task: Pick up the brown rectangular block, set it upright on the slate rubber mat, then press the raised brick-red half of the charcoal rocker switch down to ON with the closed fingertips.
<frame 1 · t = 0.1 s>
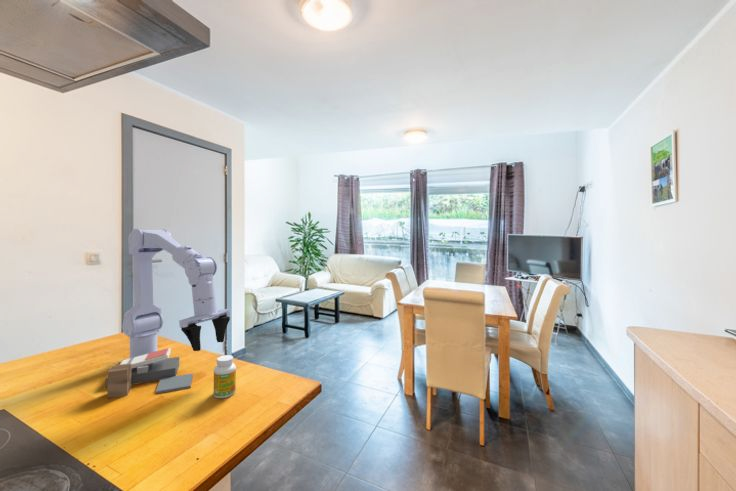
hand: (209, 346, 86), 10 cm above the counter, tool pointing down, fingers open, 7 cm apart
rocker: (145, 359, 89), point 5 cm above the counter, hinge at 10.0°
mat: (175, 383, 85), on the counter
supplement bottle: (224, 394, 81), on the counter
switch housing: (145, 375, 89), on the counter
brown rectangular block: (119, 393, 79), on the counter
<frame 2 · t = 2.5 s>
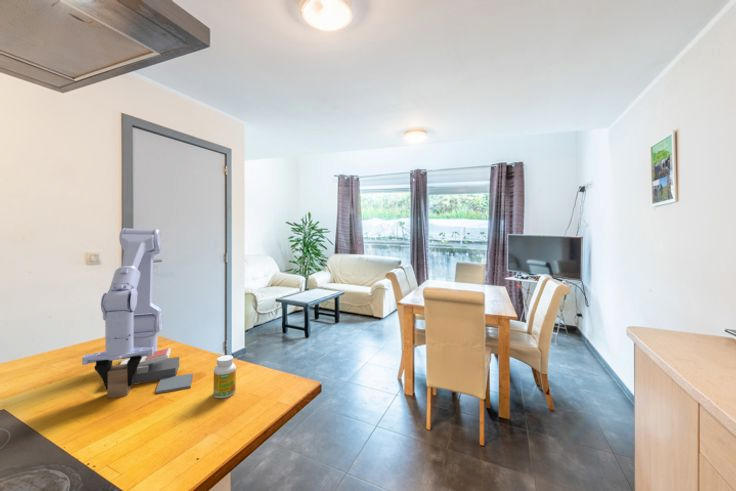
hand: (119, 386, 79), 2 cm above the counter, tool pointing down, fingers closed on brown rectangular block, 4 cm apart
brown rectangular block: (119, 393, 79), on the counter, touching gripper
everything else where it was.
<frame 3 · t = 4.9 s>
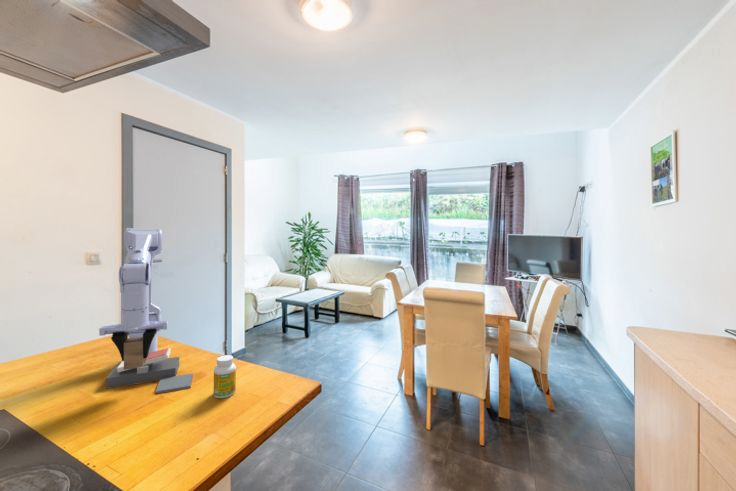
hand: (135, 358, 81), 9 cm above the counter, tool pointing down, fingers closed on brown rectangular block, 4 cm apart
brown rectangular block: (135, 365, 81), point 7 cm above the counter, touching gripper
everything else where it was.
when the fingers open (4 cm above the counter, at t = 7.4 s): brown rectangular block drops 1 cm, resting on mat.
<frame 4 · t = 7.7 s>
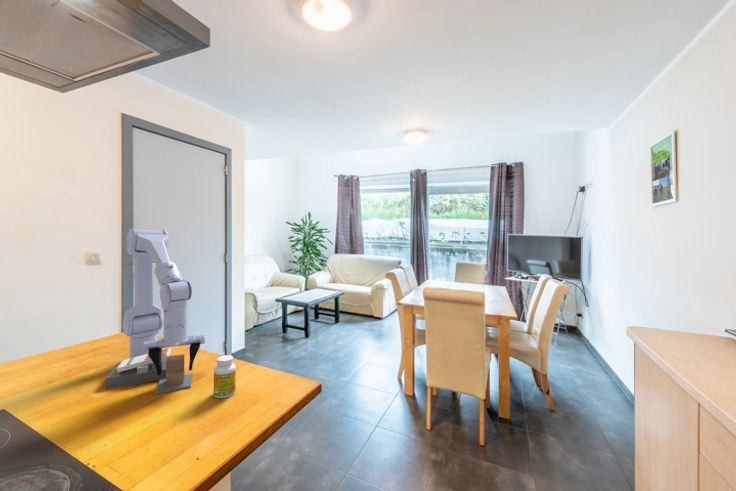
hand: (175, 371, 85), 4 cm above the counter, tool pointing down, fingers open, 7 cm apart
brown rectangular block: (175, 381, 85), point 1 cm above the counter, touching mat
everything else where it was.
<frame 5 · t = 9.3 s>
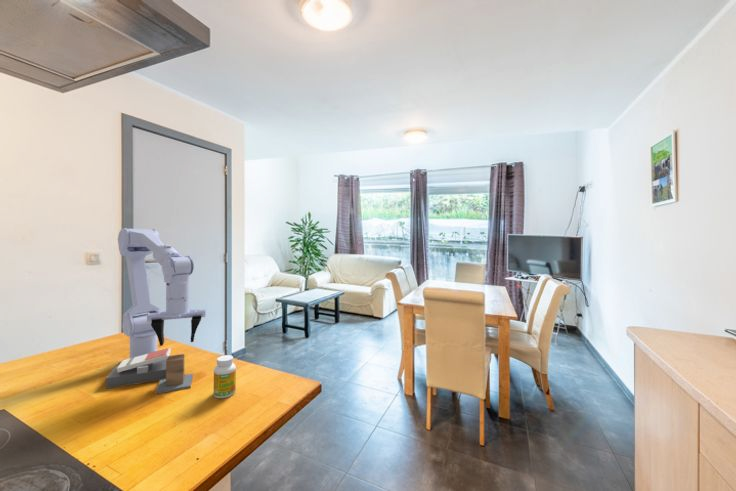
hand: (177, 342, 89), 10 cm above the counter, tool pointing down, fingers open, 7 cm apart
nothing on the counter moved.
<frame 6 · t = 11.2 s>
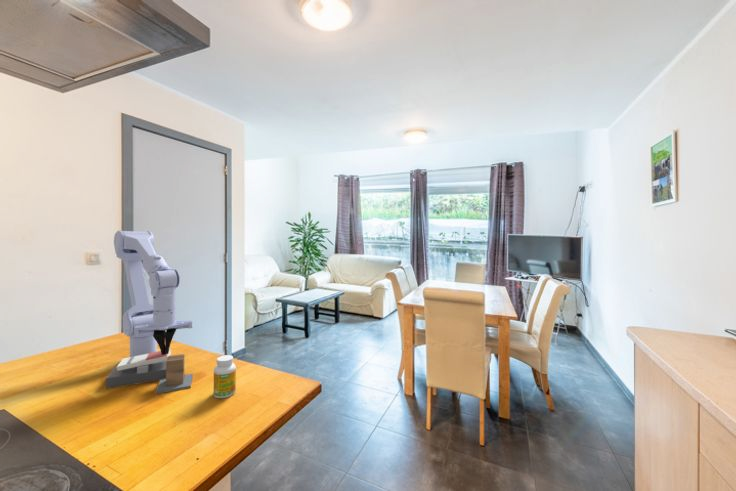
hand: (165, 353, 91), 6 cm above the counter, tool pointing down, fingers closed, pressing on rocker
rocker: (145, 359, 89), point 5 cm above the counter, hinge at 4.9°, touching gripper
everything else where it was.
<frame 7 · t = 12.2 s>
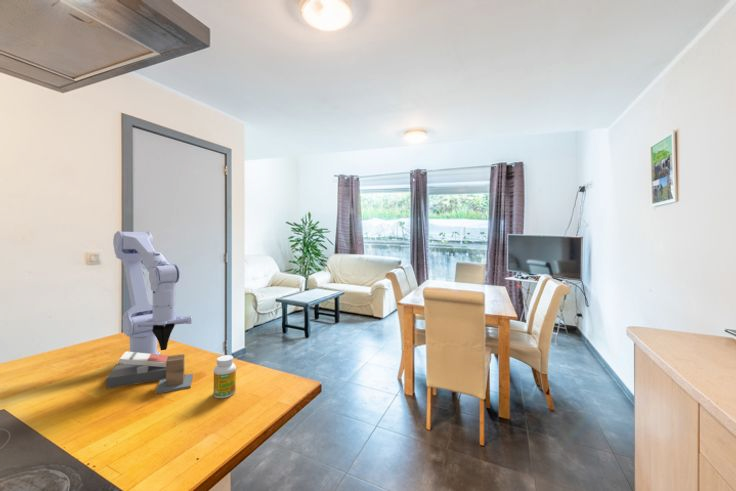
hand: (163, 349, 91), 7 cm above the counter, tool pointing down, fingers closed
rocker: (146, 359, 89), point 5 cm above the counter, hinge at -15.7°, touching switch housing
everything else where it was.
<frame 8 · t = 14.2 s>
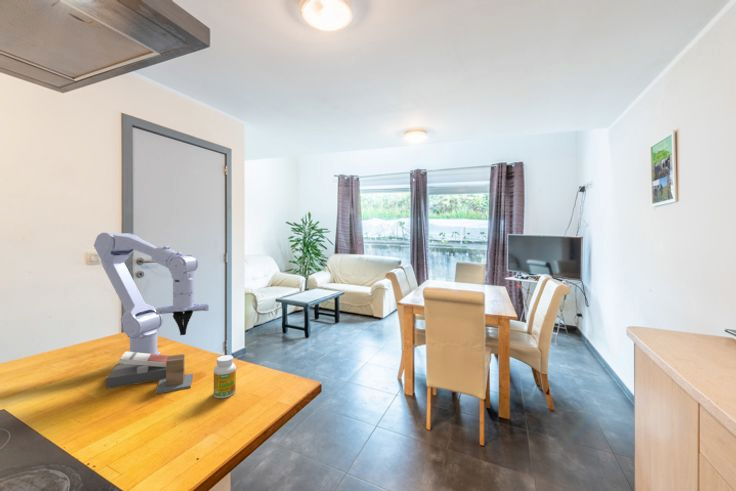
hand: (183, 334, 97), 10 cm above the counter, tool pointing down, fingers closed
nothing on the counter moved.
at the end: rocker at -16° (first picture: +10°); brown rectangular block 0.0 cm off-centre on the mat, point 0.6 cm above the mat's base; brown rectangular block tilted 0° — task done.
